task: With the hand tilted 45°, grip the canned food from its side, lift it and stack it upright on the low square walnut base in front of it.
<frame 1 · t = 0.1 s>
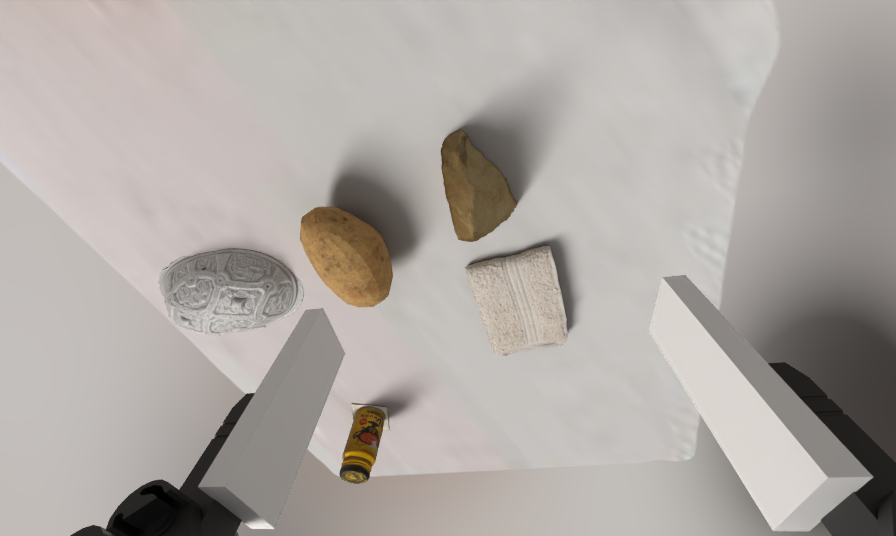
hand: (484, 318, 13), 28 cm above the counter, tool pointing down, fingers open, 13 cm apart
food container: (233, 290, 52), on the counter
washcloth: (518, 299, 49), on the counter
potato: (358, 238, 44), on the counter
condiment: (371, 415, 68), on the counter
rock: (479, 171, 38), on the counter
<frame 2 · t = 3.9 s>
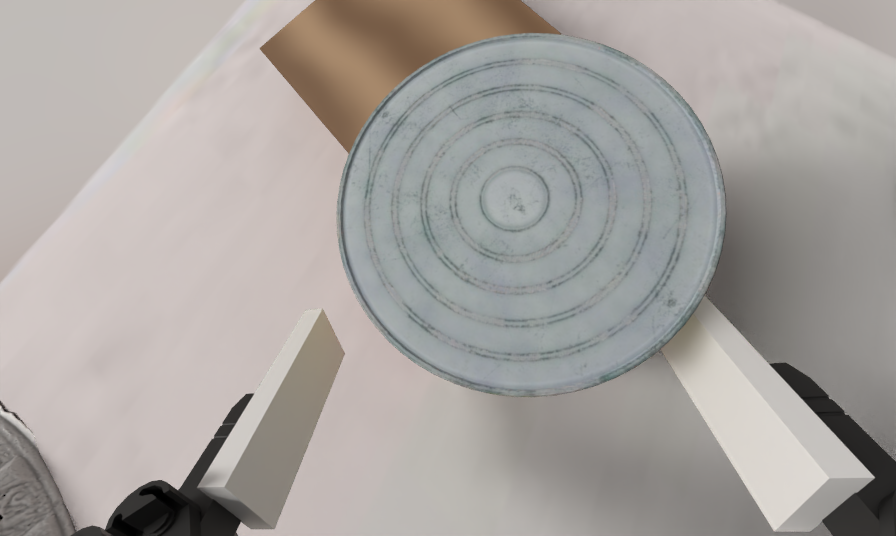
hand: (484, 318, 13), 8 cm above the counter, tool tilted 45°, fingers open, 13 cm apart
canned food: (505, 267, 22), on the counter, touching gripper
walnut base: (414, 86, 25), on the counter
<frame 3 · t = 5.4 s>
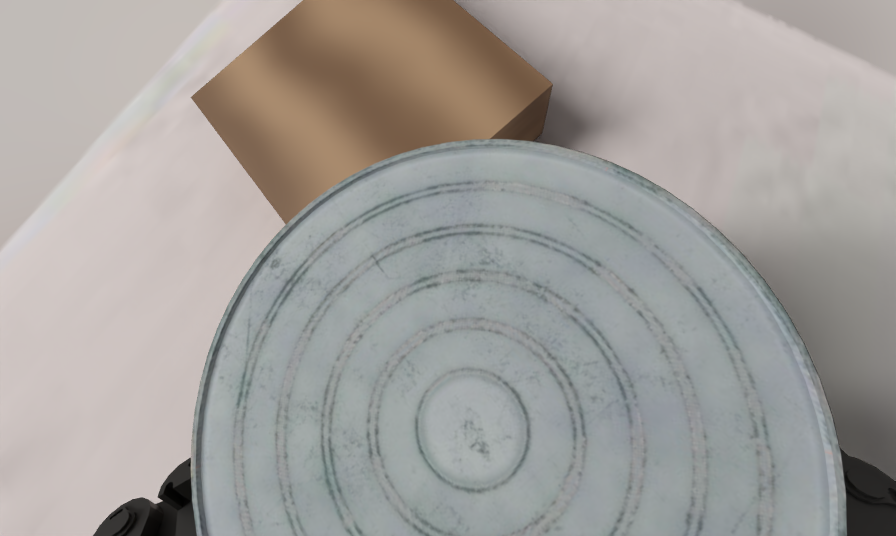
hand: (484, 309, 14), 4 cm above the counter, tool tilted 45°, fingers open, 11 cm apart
canned food: (489, 361, 18), on the counter, touching gripper
walnut base: (381, 135, 21), on the counter
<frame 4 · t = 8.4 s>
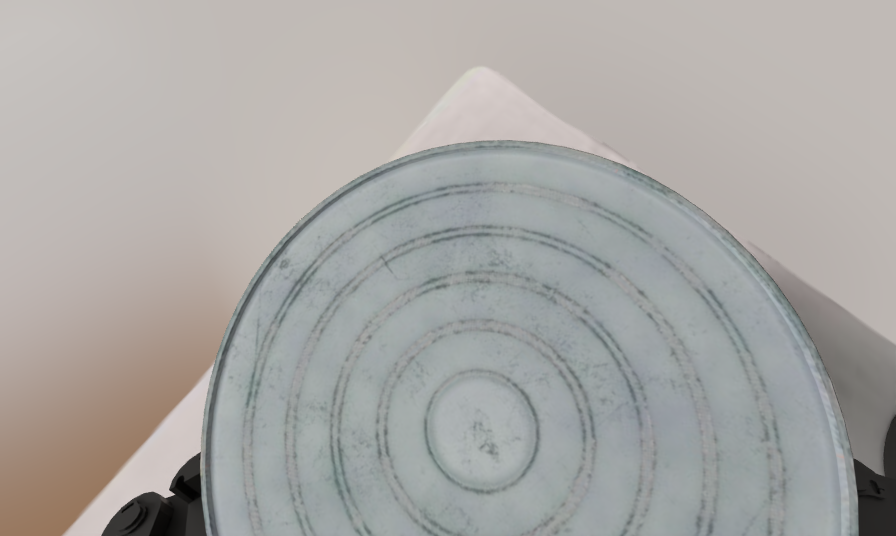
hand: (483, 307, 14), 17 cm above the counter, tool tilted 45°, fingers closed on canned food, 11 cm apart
canned food: (493, 362, 18), point 13 cm above the counter, touching gripper
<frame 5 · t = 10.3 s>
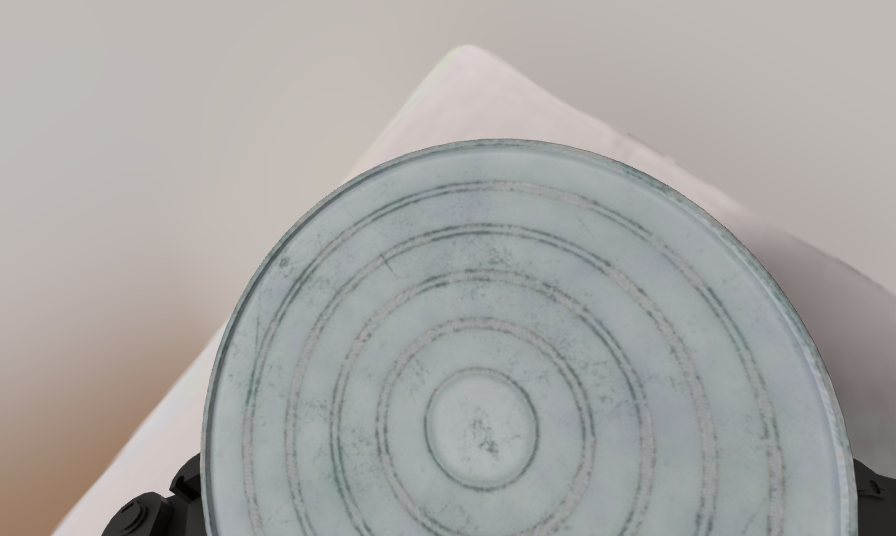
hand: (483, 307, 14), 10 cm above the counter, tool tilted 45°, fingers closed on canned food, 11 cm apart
canned food: (493, 361, 18), point 5 cm above the counter, touching gripper
when the fingers open (9 cm above the counter, at t = 11.1 s): canned food stays where it is, resting on walnut base.
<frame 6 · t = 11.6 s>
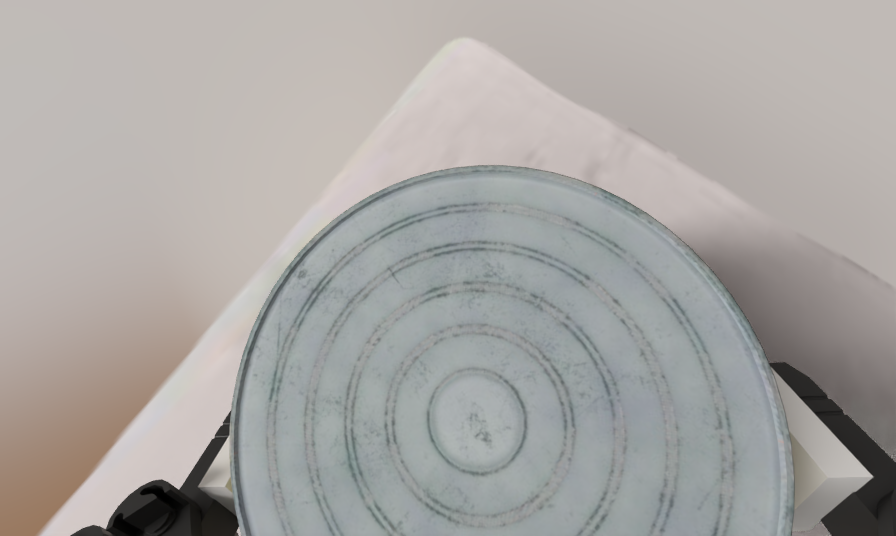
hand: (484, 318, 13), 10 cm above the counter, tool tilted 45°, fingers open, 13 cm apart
canned food: (490, 362, 19), point 4 cm above the counter, touching walnut base
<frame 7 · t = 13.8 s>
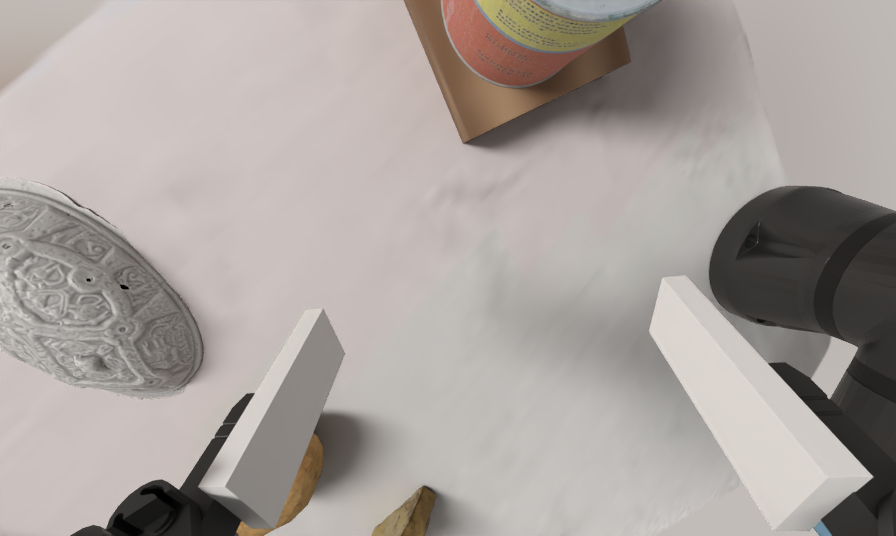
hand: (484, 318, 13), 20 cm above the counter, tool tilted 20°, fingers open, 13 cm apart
canned food: (516, 3, 24), point 4 cm above the counter, touching walnut base
food container: (91, 298, 31), on the counter
potato: (283, 444, 38), on the counter
walnut base: (504, 27, 28), on the counter
rock: (405, 514, 42), on the counter
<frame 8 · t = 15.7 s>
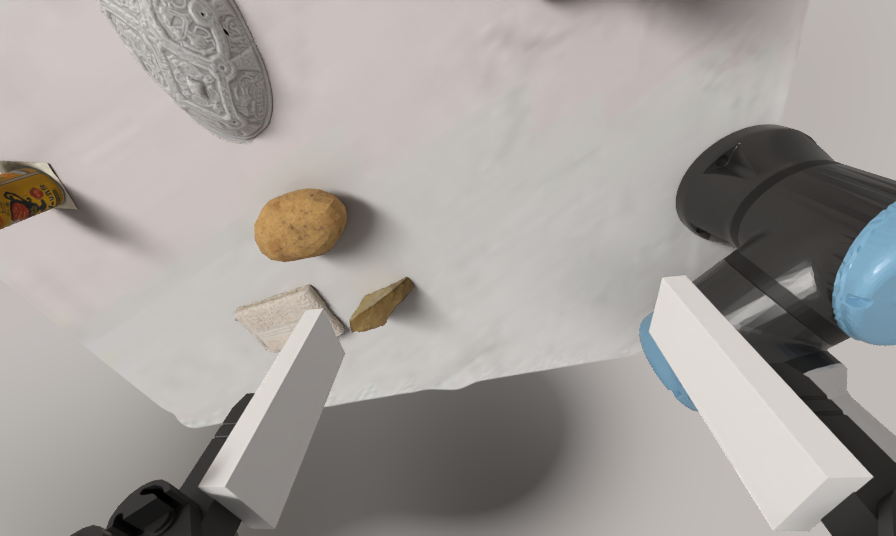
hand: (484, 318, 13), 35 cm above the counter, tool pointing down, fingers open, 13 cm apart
food container: (192, 36, 38), on the counter
washcloth: (292, 315, 63), on the counter
potato: (315, 211, 50), on the counter
condiment: (39, 184, 50), on the counter
rock: (389, 293, 58), on the counter
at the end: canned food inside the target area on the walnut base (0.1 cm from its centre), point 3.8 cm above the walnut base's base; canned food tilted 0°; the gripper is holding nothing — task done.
